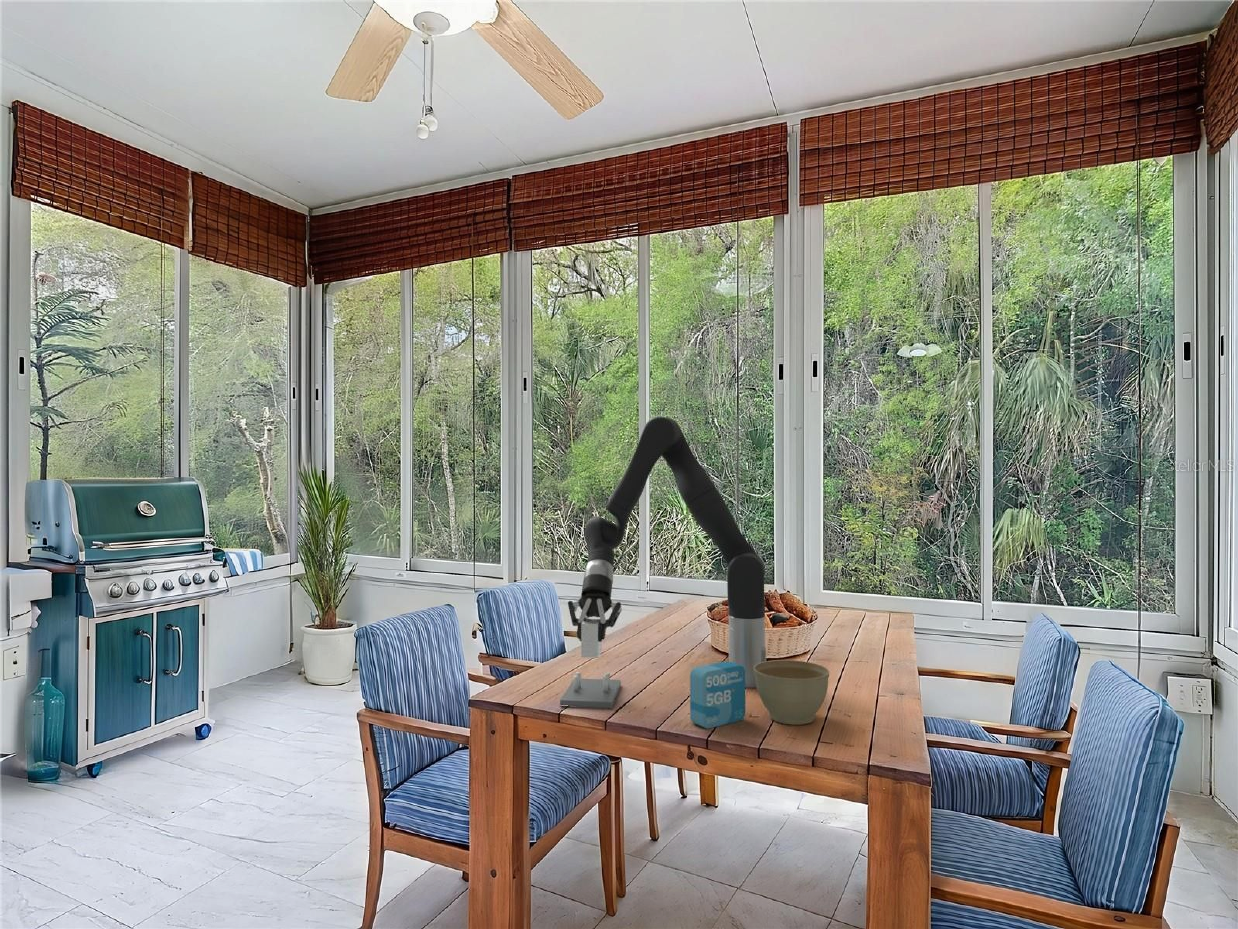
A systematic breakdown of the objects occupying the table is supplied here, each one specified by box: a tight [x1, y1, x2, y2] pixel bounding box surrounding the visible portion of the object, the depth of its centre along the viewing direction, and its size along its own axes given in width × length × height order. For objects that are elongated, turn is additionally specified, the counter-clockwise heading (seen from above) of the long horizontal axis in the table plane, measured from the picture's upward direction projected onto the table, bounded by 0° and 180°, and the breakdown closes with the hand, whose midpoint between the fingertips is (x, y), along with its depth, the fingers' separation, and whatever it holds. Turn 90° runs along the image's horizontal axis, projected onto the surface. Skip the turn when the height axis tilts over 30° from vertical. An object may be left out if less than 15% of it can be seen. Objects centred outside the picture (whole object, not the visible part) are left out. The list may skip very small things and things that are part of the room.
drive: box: [580, 618, 602, 659], centre depth 171 cm, size 4×6×8 cm
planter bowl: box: [754, 659, 830, 726], centre depth 154 cm, size 16×16×11 cm
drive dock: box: [559, 671, 622, 709], centre depth 171 cm, size 12×18×5 cm, turn 173°
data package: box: [689, 660, 746, 730], centre depth 152 cm, size 12×4×12 cm, turn 123°
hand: (590, 639), depth 169 cm, fingers closed on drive, 4 cm apart
